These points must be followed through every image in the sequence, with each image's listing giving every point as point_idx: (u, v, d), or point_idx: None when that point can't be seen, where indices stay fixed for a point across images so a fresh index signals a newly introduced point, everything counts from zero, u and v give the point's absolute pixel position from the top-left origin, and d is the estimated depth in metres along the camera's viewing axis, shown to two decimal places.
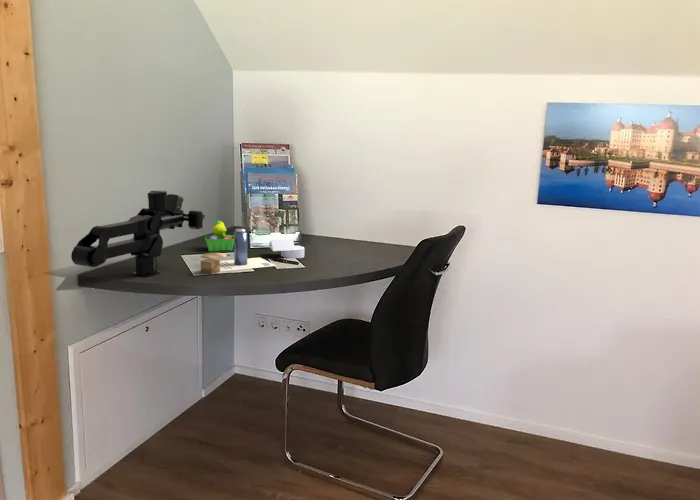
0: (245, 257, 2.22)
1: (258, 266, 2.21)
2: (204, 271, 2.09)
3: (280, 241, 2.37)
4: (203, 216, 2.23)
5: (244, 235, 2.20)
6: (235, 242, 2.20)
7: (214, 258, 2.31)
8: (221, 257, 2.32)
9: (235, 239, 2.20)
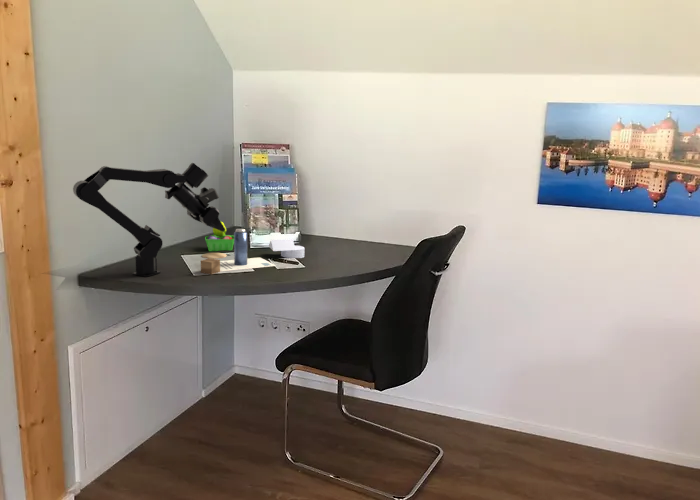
0: (245, 257, 2.22)
1: (258, 266, 2.21)
2: (204, 271, 2.09)
3: (280, 241, 2.37)
4: (222, 228, 2.12)
5: (244, 235, 2.20)
6: (235, 242, 2.20)
7: (214, 258, 2.31)
8: (221, 257, 2.32)
9: (235, 239, 2.20)
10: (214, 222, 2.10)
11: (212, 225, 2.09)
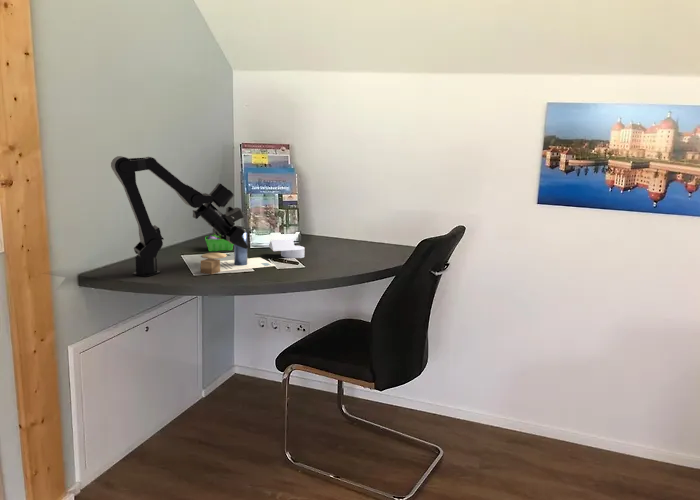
0: (245, 257, 2.22)
1: (258, 266, 2.21)
2: (204, 271, 2.09)
3: (280, 241, 2.37)
4: (245, 245, 2.20)
5: (244, 235, 2.20)
6: None
7: (214, 258, 2.31)
8: (221, 257, 2.32)
9: None
10: (237, 240, 2.17)
11: (235, 243, 2.17)
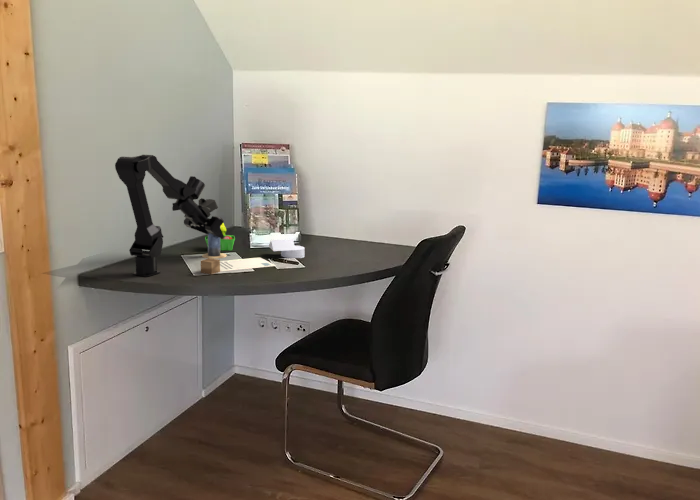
0: (219, 248, 2.34)
1: (258, 266, 2.21)
2: (204, 271, 2.09)
3: (280, 241, 2.37)
4: (221, 235, 2.31)
5: None
6: (210, 234, 2.32)
7: (214, 258, 2.31)
8: (221, 257, 2.32)
9: None
10: None
11: (214, 233, 2.27)
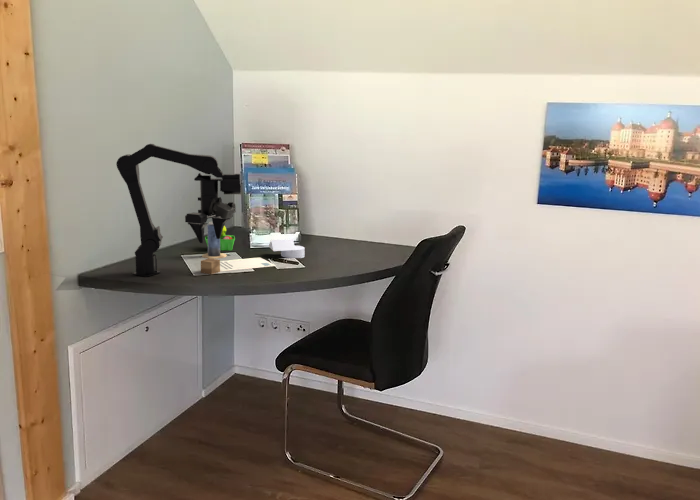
0: (219, 248, 2.34)
1: (258, 266, 2.21)
2: (204, 271, 2.09)
3: (280, 241, 2.37)
4: (200, 239, 2.04)
5: None
6: (209, 235, 2.32)
7: (214, 258, 2.31)
8: (221, 257, 2.32)
9: (209, 231, 2.31)
10: (197, 228, 2.03)
11: (193, 228, 2.03)
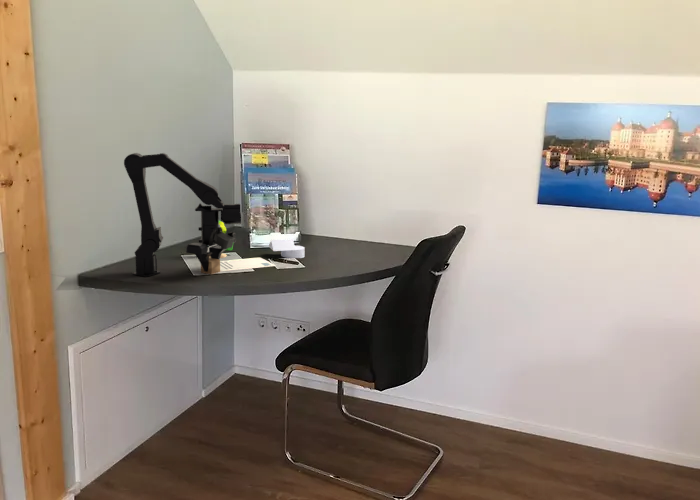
0: None
1: (258, 266, 2.21)
2: (204, 271, 2.09)
3: (280, 241, 2.37)
4: (205, 268, 2.08)
5: None
6: None
7: None
8: (221, 257, 2.32)
9: None
10: (202, 257, 2.07)
11: (198, 257, 2.07)
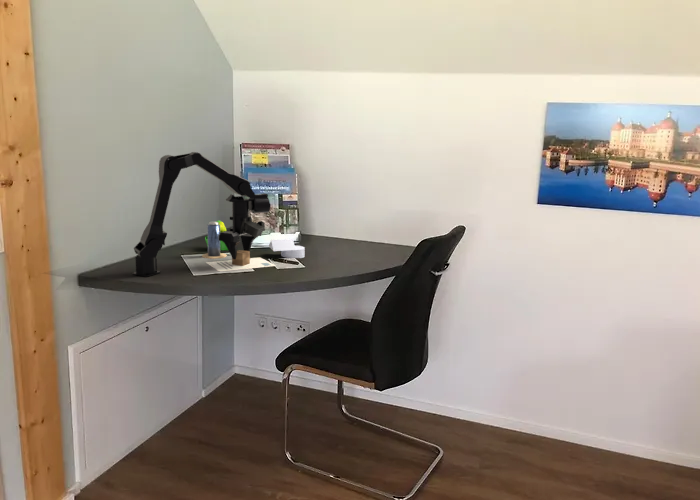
0: (219, 248, 2.34)
1: (258, 266, 2.21)
2: (235, 262, 2.22)
3: (280, 241, 2.37)
4: (233, 256, 2.19)
5: (218, 227, 2.32)
6: (209, 235, 2.32)
7: (214, 258, 2.31)
8: (221, 257, 2.32)
9: (209, 231, 2.31)
10: (231, 245, 2.18)
11: (227, 245, 2.18)
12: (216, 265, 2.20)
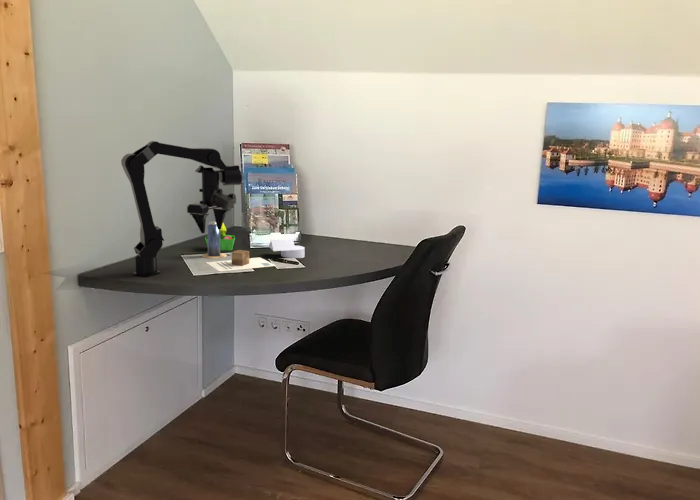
0: (219, 248, 2.34)
1: (258, 266, 2.21)
2: (235, 262, 2.22)
3: (280, 241, 2.37)
4: (202, 229, 2.10)
5: None
6: (209, 235, 2.32)
7: (214, 258, 2.31)
8: (221, 257, 2.32)
9: (209, 231, 2.31)
10: (199, 218, 2.09)
11: (195, 218, 2.09)
12: (216, 265, 2.20)
